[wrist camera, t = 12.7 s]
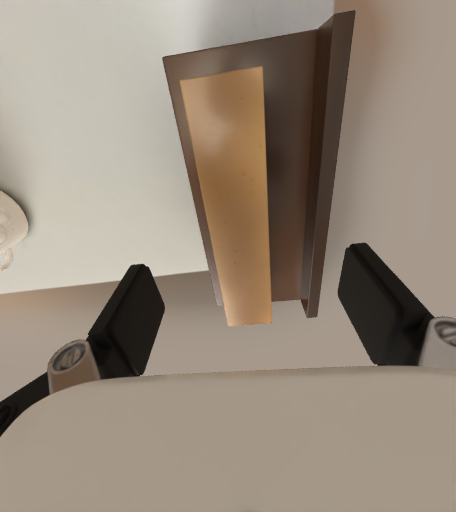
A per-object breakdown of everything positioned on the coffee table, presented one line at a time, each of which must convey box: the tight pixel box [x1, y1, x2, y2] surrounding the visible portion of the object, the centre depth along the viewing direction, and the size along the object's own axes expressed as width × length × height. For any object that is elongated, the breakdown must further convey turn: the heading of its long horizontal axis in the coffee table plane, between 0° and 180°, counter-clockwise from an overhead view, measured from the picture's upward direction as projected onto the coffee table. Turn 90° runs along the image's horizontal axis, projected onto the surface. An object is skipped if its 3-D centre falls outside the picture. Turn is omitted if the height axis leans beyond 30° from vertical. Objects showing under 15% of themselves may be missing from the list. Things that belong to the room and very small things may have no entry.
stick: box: [180, 66, 272, 326], centre depth 17 cm, size 4×18×4 cm, turn 8°
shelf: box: [162, 10, 355, 318], centre depth 24 cm, size 10×21×16 cm, turn 8°
